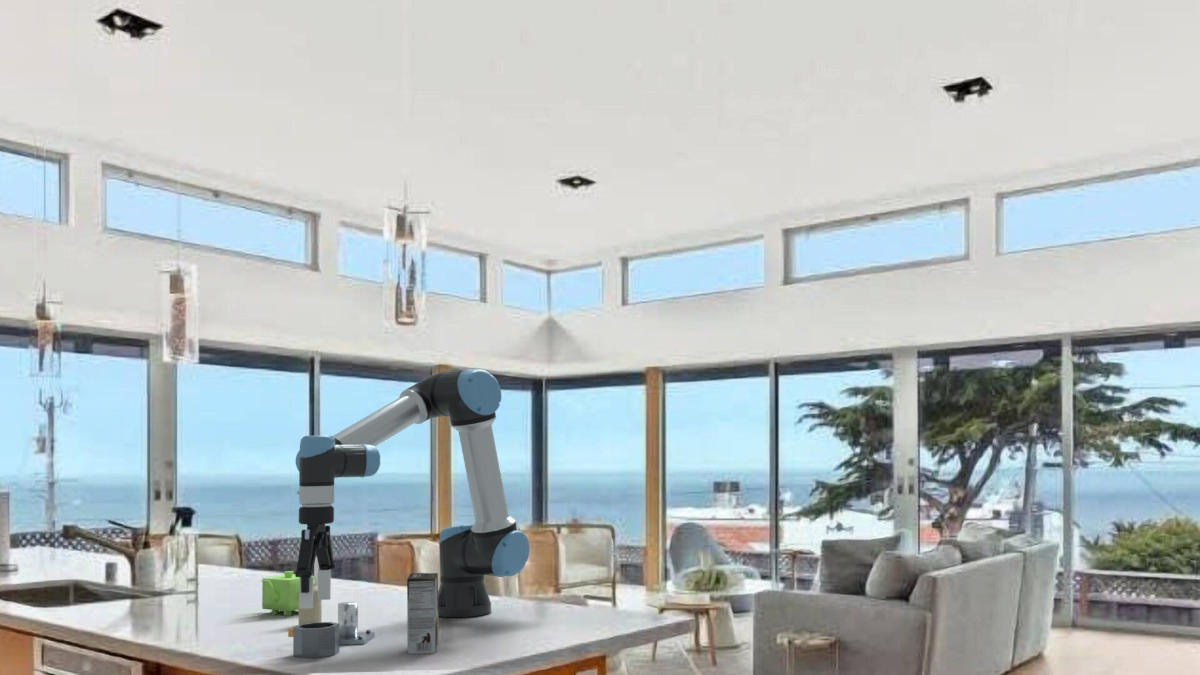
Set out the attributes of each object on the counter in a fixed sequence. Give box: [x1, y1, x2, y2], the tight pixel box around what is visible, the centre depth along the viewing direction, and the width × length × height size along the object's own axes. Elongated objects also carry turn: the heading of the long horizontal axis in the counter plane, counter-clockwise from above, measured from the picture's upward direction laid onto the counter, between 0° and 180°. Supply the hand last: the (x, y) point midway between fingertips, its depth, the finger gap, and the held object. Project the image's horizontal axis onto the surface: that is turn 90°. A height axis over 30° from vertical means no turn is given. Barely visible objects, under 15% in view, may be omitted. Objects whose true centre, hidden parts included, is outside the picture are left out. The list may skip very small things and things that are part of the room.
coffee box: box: [406, 572, 440, 655], centre depth 238 cm, size 9×6×16 cm
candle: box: [298, 584, 322, 625], centre depth 275 cm, size 6×6×10 cm
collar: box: [287, 621, 340, 659], centre depth 236 cm, size 10×9×6 cm
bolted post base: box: [337, 601, 375, 646], centre depth 251 cm, size 10×10×8 cm
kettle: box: [260, 570, 316, 617], centre depth 296 cm, size 15×14×11 cm
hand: (315, 603), depth 236 cm, fingers open, 13 cm apart
